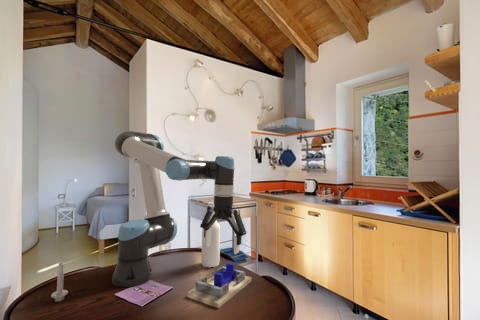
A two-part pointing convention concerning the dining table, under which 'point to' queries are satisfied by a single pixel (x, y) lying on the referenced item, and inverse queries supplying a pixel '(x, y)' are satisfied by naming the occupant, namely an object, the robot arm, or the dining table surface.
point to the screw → (60, 285)
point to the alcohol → (213, 251)
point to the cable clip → (224, 275)
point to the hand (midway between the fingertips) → (221, 249)
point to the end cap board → (218, 289)
